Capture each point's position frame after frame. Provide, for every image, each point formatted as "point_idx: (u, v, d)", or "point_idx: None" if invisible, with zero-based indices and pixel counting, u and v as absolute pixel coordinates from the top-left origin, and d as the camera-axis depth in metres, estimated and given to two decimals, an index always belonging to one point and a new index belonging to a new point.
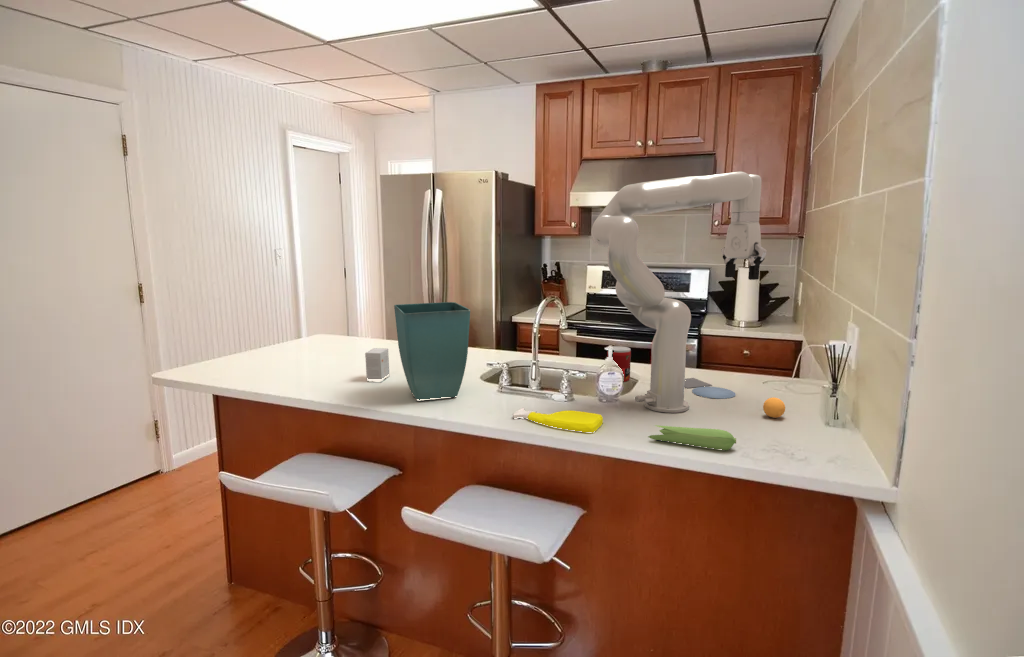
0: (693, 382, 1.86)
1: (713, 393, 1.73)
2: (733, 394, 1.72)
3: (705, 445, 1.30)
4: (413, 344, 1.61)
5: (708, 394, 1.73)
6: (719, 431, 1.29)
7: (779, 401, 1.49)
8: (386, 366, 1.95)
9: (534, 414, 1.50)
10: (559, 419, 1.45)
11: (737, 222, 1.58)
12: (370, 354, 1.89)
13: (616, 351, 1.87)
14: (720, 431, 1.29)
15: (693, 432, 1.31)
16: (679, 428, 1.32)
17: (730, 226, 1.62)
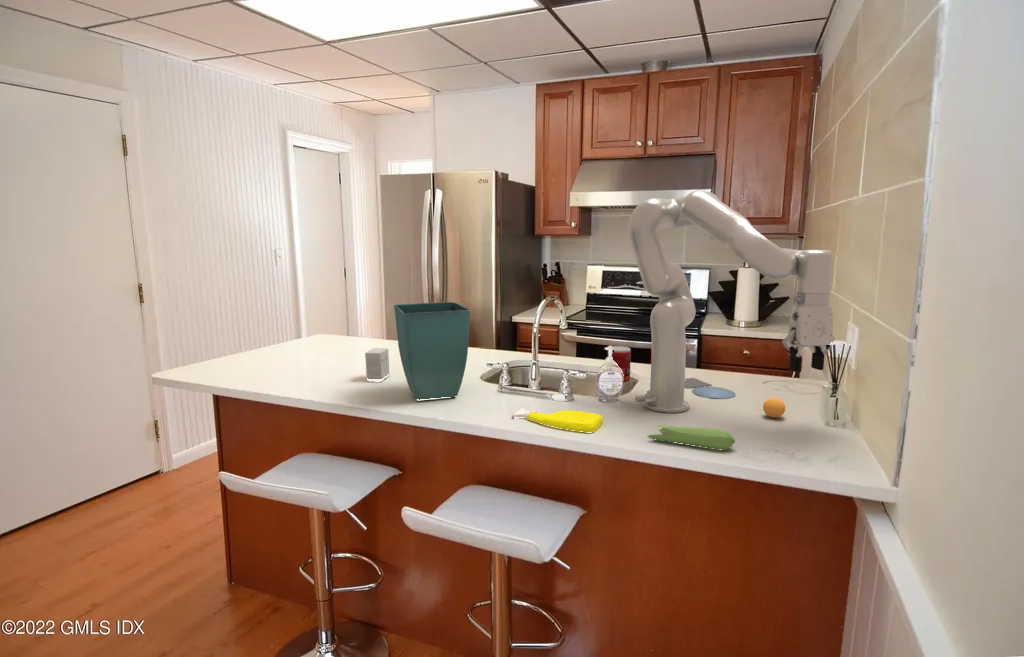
0: (693, 382, 1.86)
1: (713, 393, 1.73)
2: (733, 394, 1.72)
3: (704, 445, 1.30)
4: (413, 344, 1.61)
5: (708, 394, 1.73)
6: (718, 431, 1.29)
7: (779, 401, 1.49)
8: (386, 366, 1.95)
9: (534, 414, 1.51)
10: (559, 419, 1.45)
11: (827, 305, 1.34)
12: (370, 354, 1.89)
13: (616, 351, 1.87)
14: (719, 431, 1.29)
15: (692, 432, 1.31)
16: (678, 428, 1.33)
17: (810, 309, 1.34)
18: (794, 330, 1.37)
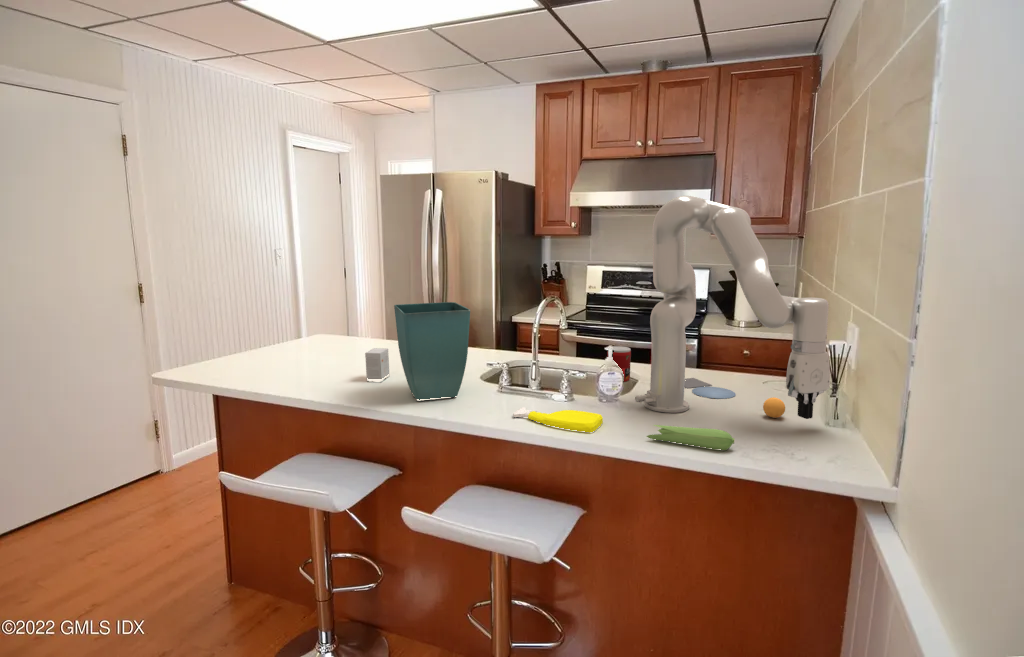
0: (693, 382, 1.86)
1: (713, 393, 1.73)
2: (733, 394, 1.72)
3: (703, 445, 1.30)
4: (413, 344, 1.61)
5: (708, 394, 1.73)
6: (717, 431, 1.29)
7: (779, 401, 1.49)
8: (386, 366, 1.95)
9: (534, 413, 1.51)
10: (559, 419, 1.45)
11: (824, 352, 1.36)
12: (370, 354, 1.89)
13: (616, 351, 1.87)
14: (718, 431, 1.29)
15: (691, 432, 1.31)
16: (677, 428, 1.33)
17: (807, 357, 1.36)
18: (793, 380, 1.39)
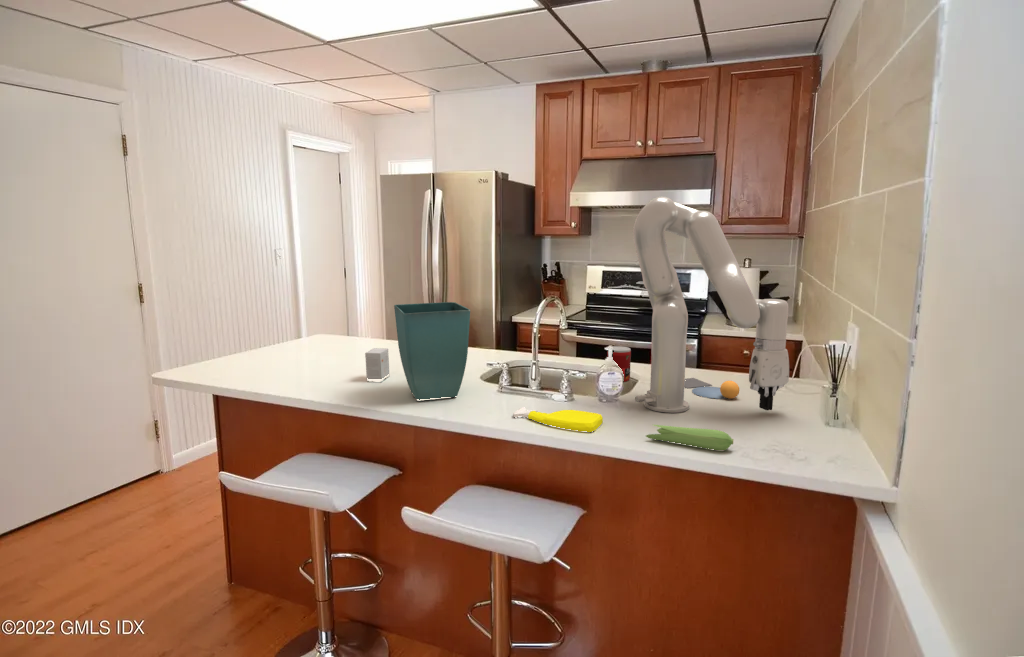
0: (693, 382, 1.86)
1: (713, 393, 1.73)
2: None
3: (702, 445, 1.29)
4: (413, 344, 1.61)
5: (708, 394, 1.73)
6: (716, 431, 1.28)
7: (733, 382, 1.67)
8: (386, 366, 1.95)
9: (534, 413, 1.51)
10: (559, 418, 1.45)
11: (783, 350, 1.48)
12: (370, 354, 1.89)
13: (616, 351, 1.87)
14: (717, 432, 1.28)
15: (690, 432, 1.30)
16: (676, 428, 1.33)
17: (767, 354, 1.48)
18: None
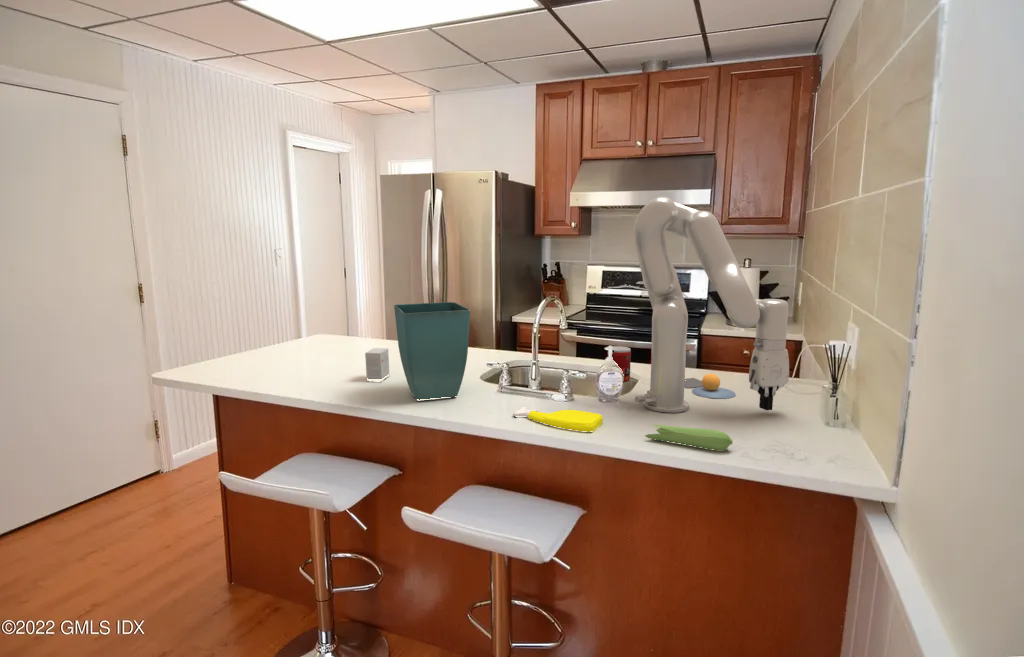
0: (693, 382, 1.86)
1: (713, 393, 1.73)
2: (733, 394, 1.72)
3: (701, 445, 1.29)
4: (413, 344, 1.61)
5: (708, 394, 1.73)
6: (715, 431, 1.28)
7: None
8: (386, 366, 1.95)
9: (534, 413, 1.51)
10: (559, 418, 1.45)
11: (783, 350, 1.48)
12: (370, 354, 1.89)
13: (616, 351, 1.87)
14: (716, 431, 1.28)
15: (689, 432, 1.31)
16: (675, 428, 1.33)
17: (767, 354, 1.48)
18: None
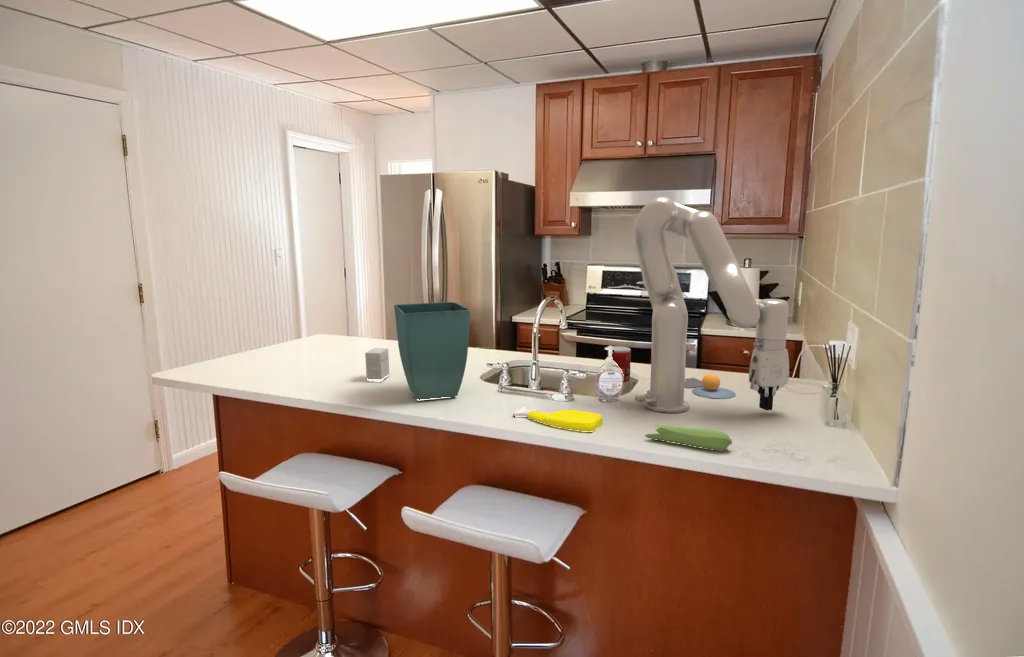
0: (693, 382, 1.86)
1: (713, 393, 1.73)
2: (733, 394, 1.72)
3: (700, 445, 1.29)
4: (413, 344, 1.61)
5: (708, 394, 1.73)
6: (714, 431, 1.28)
7: None
8: (386, 366, 1.95)
9: (534, 413, 1.51)
10: (559, 418, 1.46)
11: (783, 350, 1.48)
12: (370, 354, 1.89)
13: (616, 351, 1.87)
14: (715, 432, 1.28)
15: (688, 432, 1.31)
16: (675, 428, 1.33)
17: (767, 354, 1.48)
18: None
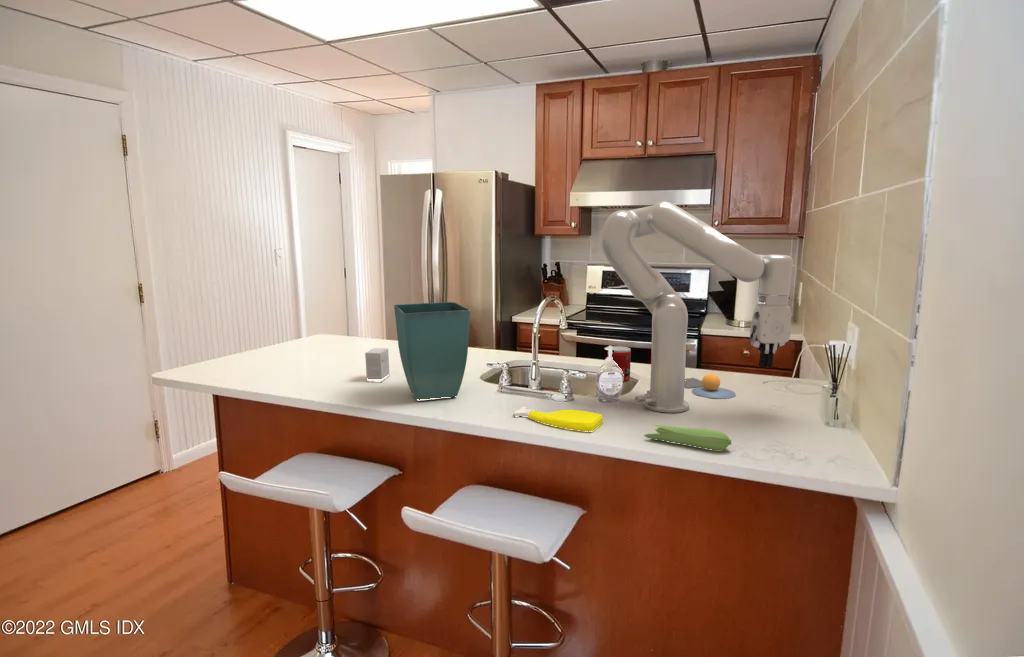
0: (693, 382, 1.86)
1: (713, 393, 1.73)
2: (733, 394, 1.72)
3: (700, 445, 1.29)
4: (413, 344, 1.61)
5: (708, 394, 1.73)
6: (714, 432, 1.28)
7: None
8: (386, 366, 1.95)
9: (534, 413, 1.52)
10: (559, 418, 1.46)
11: (785, 306, 1.46)
12: (370, 354, 1.89)
13: (616, 351, 1.87)
14: (715, 432, 1.28)
15: (688, 432, 1.31)
16: (674, 428, 1.33)
17: (770, 309, 1.46)
18: (756, 330, 1.49)
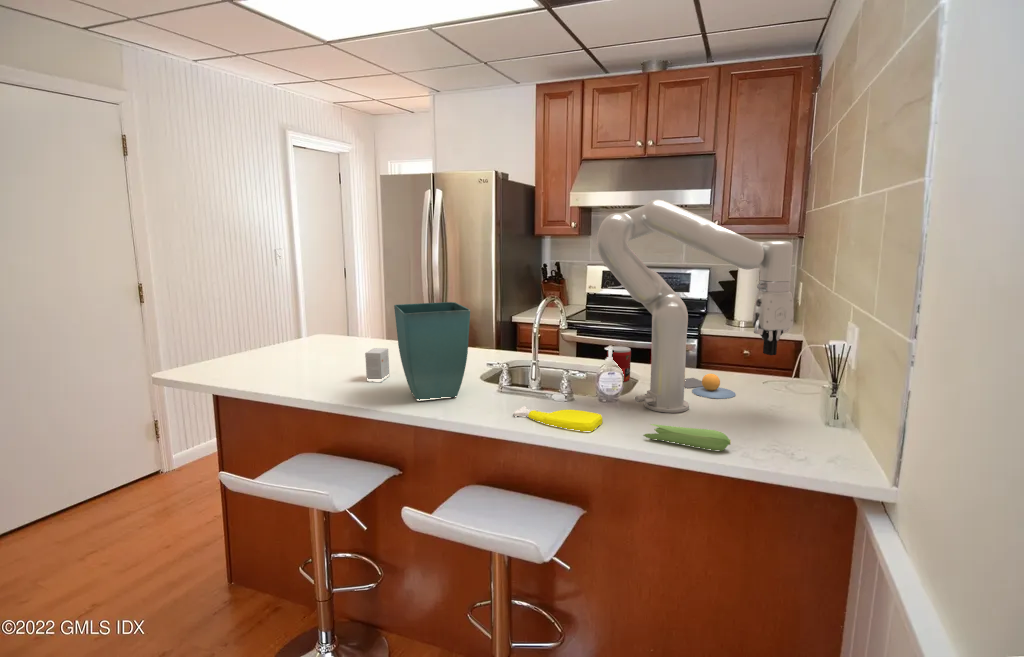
0: (693, 382, 1.86)
1: (713, 393, 1.73)
2: (733, 394, 1.72)
3: (699, 445, 1.29)
4: (413, 344, 1.61)
5: (708, 394, 1.73)
6: (713, 432, 1.28)
7: None
8: (386, 366, 1.95)
9: (534, 412, 1.52)
10: (558, 418, 1.46)
11: (787, 292, 1.46)
12: (370, 354, 1.89)
13: (616, 351, 1.87)
14: (714, 432, 1.28)
15: (687, 432, 1.31)
16: (674, 427, 1.33)
17: (772, 296, 1.45)
18: None
